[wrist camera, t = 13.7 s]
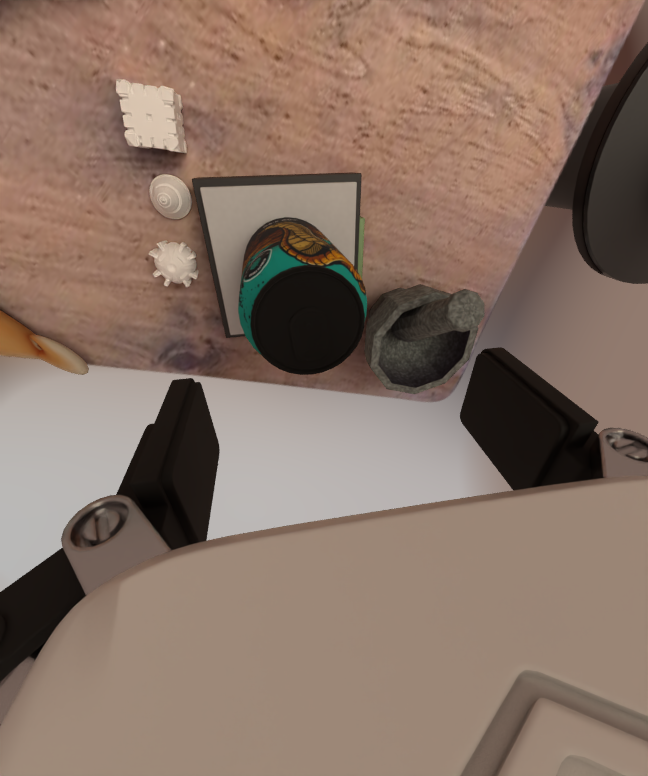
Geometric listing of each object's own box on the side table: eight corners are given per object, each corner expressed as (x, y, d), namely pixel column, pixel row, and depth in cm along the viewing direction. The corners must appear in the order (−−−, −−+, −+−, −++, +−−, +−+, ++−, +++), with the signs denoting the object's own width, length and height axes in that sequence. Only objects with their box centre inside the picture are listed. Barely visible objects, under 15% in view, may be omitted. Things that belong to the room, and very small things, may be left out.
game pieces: (129, 88, 21) (111, 77, 18) (183, 97, 21) (174, 87, 19) (161, 277, 27) (152, 289, 25) (203, 279, 28) (197, 291, 25)
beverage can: (326, 208, 24) (375, 239, 14) (336, 299, 28) (379, 371, 18) (232, 224, 23) (216, 266, 14) (256, 314, 27) (256, 395, 18)
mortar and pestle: (429, 355, 37) (490, 424, 27) (349, 362, 36) (385, 436, 26) (452, 251, 31) (543, 292, 21) (356, 254, 29) (406, 300, 20)
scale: (359, 172, 26) (371, 173, 23) (355, 315, 33) (363, 327, 30) (196, 177, 24) (190, 179, 21) (228, 326, 31) (225, 341, 28)
